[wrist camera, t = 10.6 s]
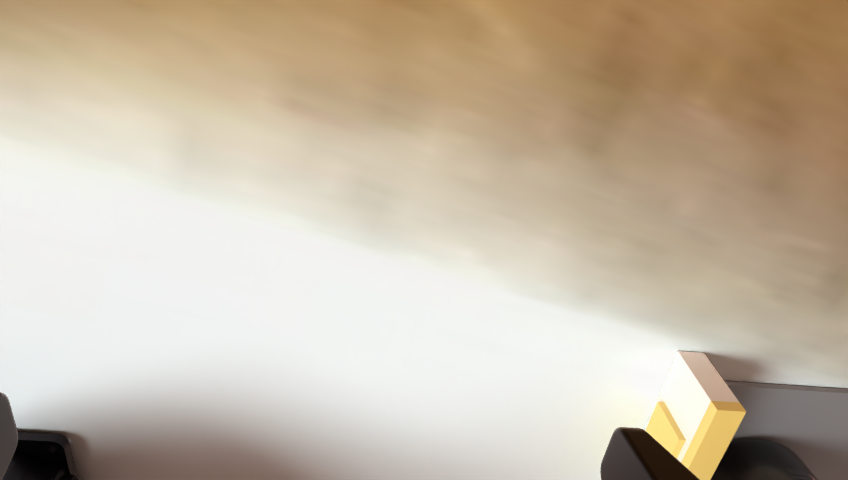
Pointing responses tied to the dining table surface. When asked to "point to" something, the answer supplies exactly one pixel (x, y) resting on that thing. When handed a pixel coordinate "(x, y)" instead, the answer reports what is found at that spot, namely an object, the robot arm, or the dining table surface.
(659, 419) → the rail
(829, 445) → the shelf mat
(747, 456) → the supplement bottle
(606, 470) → the robot arm
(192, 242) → the dining table surface
